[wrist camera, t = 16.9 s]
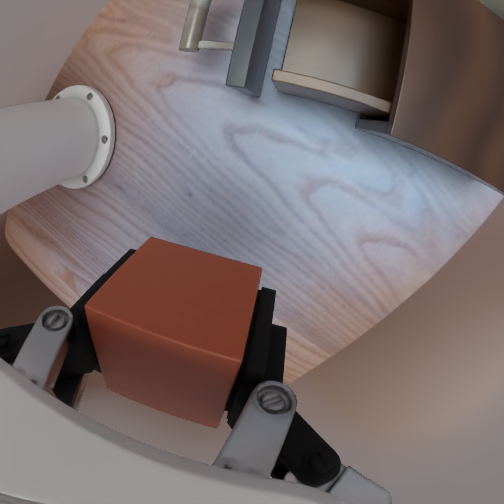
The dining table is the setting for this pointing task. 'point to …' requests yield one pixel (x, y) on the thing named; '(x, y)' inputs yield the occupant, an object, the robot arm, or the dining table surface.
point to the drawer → (315, 50)
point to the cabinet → (450, 89)
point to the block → (174, 328)
